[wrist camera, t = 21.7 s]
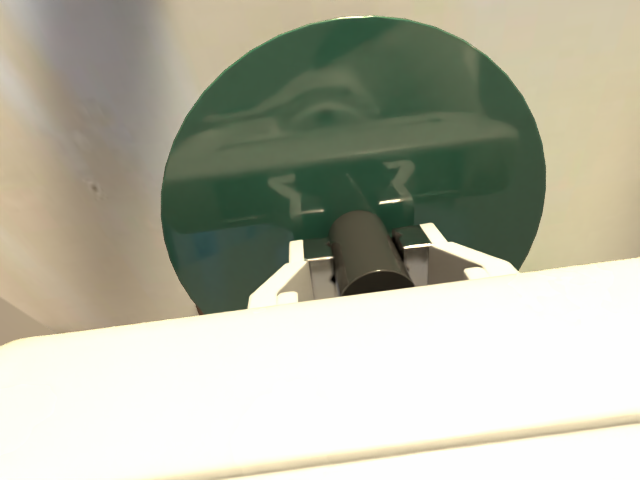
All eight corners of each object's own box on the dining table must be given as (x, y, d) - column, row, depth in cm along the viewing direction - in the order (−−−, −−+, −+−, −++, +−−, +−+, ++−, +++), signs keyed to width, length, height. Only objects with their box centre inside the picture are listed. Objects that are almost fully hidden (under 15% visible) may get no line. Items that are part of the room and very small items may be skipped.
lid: (565, -11, 12) (744, -43, 7) (502, 330, 19) (570, 424, 15) (107, 48, 12) (-14, 54, 7) (221, 368, 19) (198, 474, 15)
